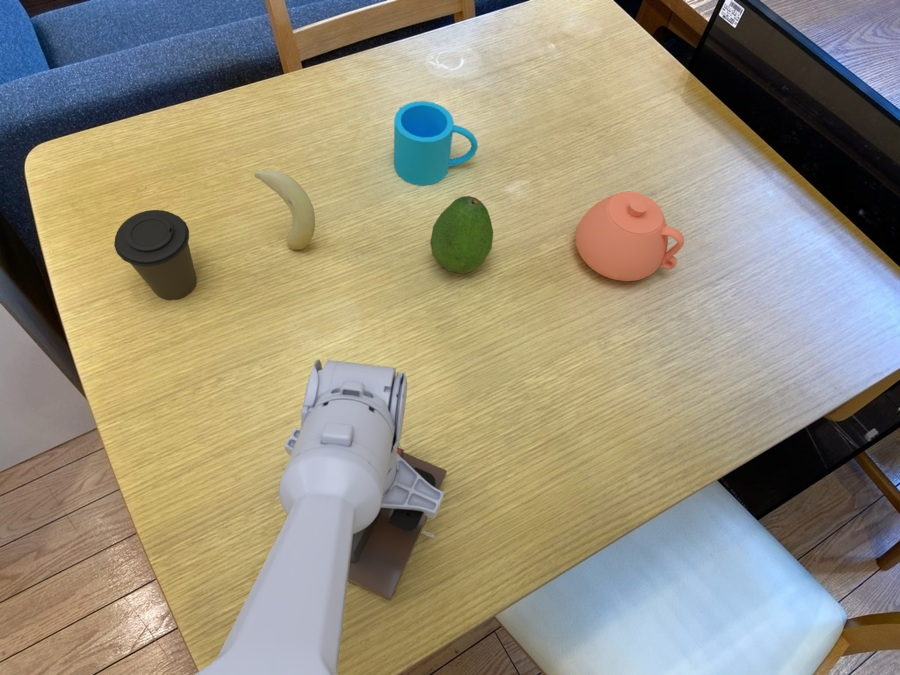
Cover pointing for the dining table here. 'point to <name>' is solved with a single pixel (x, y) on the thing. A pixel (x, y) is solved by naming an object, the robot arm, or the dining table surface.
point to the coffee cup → (158, 252)
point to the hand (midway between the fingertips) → (366, 498)
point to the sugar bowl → (626, 237)
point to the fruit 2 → (462, 235)
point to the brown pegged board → (390, 545)
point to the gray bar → (365, 531)
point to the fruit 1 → (292, 206)
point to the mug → (426, 143)
